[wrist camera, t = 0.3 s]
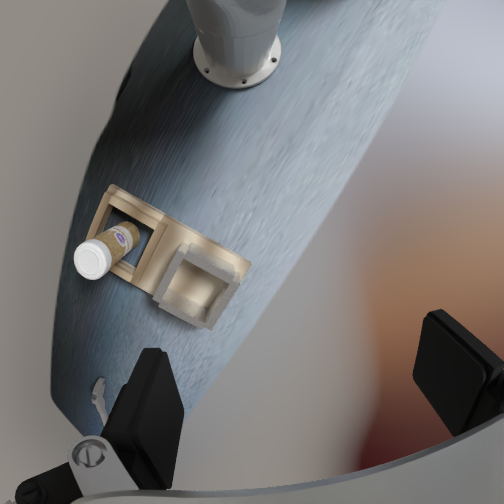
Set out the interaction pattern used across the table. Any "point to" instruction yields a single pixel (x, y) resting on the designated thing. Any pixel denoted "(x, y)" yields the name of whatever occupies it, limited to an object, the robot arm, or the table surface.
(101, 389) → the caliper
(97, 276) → the sprinkles bottle
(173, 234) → the stand board
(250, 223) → the table surface
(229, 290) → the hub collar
